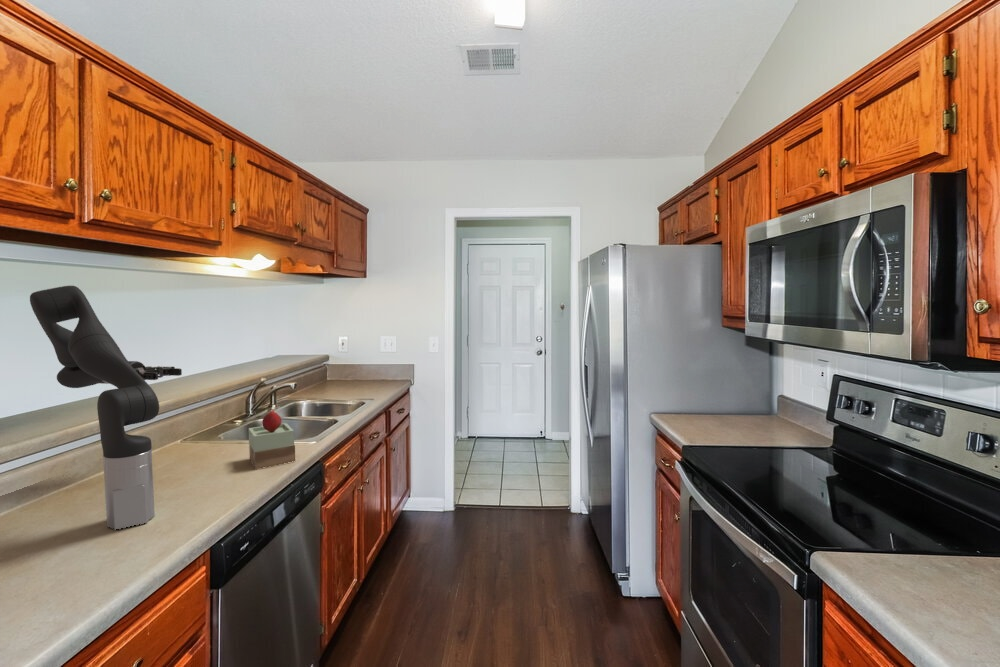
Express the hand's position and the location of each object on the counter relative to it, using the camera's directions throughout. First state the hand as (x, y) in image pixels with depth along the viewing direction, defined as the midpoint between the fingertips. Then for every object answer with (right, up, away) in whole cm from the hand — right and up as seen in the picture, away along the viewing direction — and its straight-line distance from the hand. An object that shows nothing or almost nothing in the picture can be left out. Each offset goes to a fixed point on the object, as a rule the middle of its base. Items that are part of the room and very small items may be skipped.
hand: (169, 374), depth 140 cm
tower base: (+24, -31, +15) cm, 43 cm away
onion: (+24, -22, +15) cm, 36 cm away
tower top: (+24, -25, +15) cm, 38 cm away
